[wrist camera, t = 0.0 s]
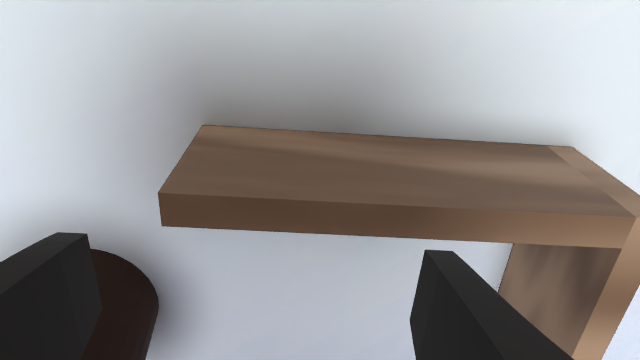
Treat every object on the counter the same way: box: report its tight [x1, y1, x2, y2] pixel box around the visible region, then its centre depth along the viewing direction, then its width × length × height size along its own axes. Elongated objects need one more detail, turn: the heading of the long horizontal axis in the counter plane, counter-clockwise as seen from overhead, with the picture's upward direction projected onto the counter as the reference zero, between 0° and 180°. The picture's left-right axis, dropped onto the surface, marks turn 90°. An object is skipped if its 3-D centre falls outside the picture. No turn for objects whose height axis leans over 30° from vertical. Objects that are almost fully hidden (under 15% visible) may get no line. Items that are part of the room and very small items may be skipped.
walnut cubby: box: [158, 125, 640, 360], centre depth 21 cm, size 19×16×6 cm
